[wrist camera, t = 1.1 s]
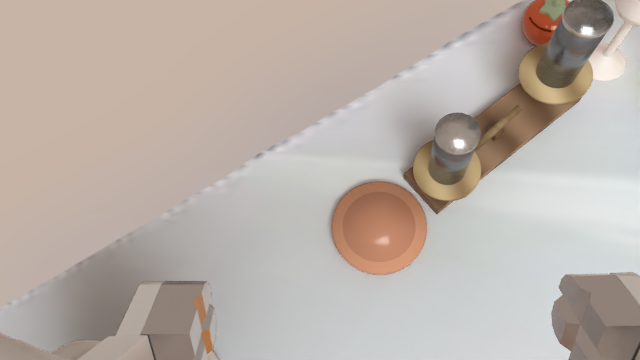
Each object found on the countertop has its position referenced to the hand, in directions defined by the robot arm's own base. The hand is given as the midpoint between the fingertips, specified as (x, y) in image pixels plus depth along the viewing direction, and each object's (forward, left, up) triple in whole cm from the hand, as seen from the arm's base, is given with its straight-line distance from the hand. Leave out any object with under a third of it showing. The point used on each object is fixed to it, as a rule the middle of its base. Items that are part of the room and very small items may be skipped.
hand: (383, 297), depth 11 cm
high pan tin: (+39, +13, -46) cm, 62 cm away
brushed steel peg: (+21, +13, -51) cm, 57 cm away
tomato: (+48, +21, -55) cm, 76 cm away
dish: (+9, +13, -55) cm, 57 cm away
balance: (+30, +13, -55) cm, 64 cm away
